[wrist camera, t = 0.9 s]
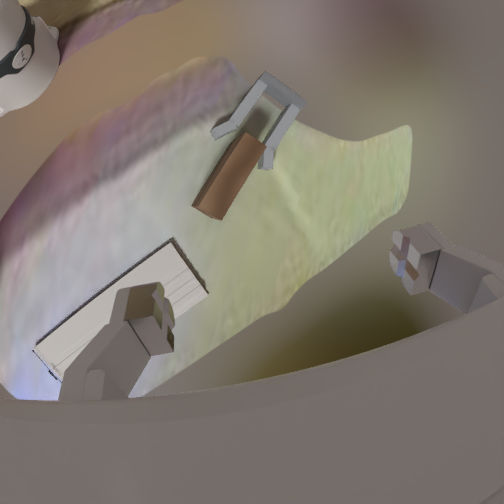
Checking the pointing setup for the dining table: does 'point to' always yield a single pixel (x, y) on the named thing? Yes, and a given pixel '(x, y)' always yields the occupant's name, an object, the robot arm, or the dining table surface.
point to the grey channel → (282, 124)
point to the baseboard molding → (99, 309)
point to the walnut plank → (229, 176)
